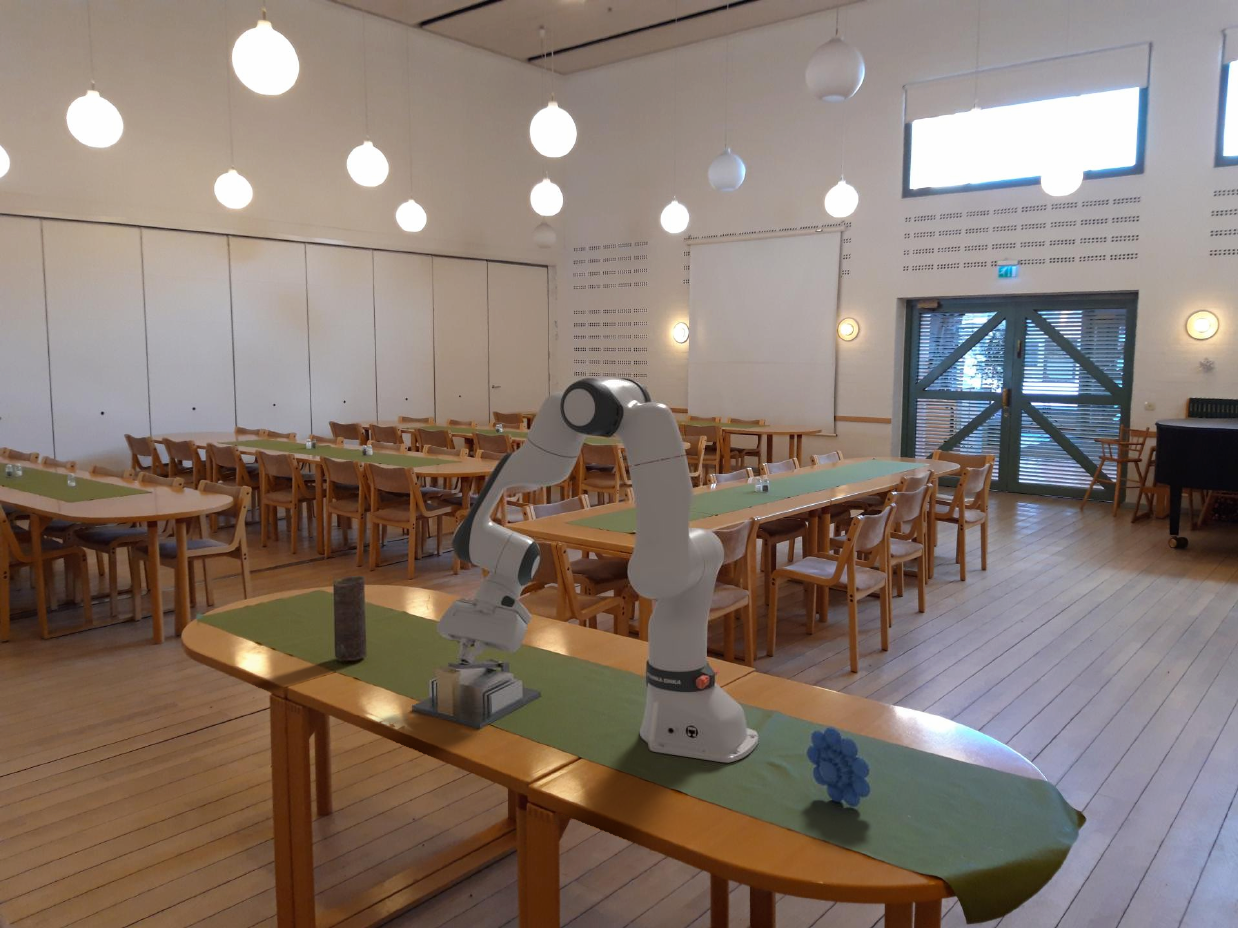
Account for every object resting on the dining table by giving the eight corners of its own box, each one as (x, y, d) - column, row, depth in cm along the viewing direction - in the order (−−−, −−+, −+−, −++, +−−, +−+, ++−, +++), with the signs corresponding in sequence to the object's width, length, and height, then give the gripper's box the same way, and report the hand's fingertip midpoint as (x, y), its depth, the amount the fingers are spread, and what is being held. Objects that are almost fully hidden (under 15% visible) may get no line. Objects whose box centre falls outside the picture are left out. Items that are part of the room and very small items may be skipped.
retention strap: (492, 665, 190) (493, 659, 190) (504, 667, 188) (504, 662, 189) (447, 667, 178) (448, 661, 178) (459, 670, 176) (460, 664, 176)
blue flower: (791, 797, 144) (792, 726, 142) (815, 783, 148) (817, 715, 147) (853, 824, 135) (855, 749, 134) (877, 809, 140) (879, 736, 138)
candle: (368, 662, 209) (365, 580, 207) (336, 666, 206) (333, 583, 204) (365, 653, 216) (362, 573, 214) (334, 656, 214) (330, 576, 211)
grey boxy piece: (540, 695, 188) (540, 651, 187) (480, 728, 171) (479, 680, 170) (475, 680, 197) (475, 638, 196) (412, 710, 180) (410, 664, 179)
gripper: (449, 589, 190) (418, 644, 183) (525, 602, 180) (495, 662, 173) (463, 604, 195) (433, 659, 187) (538, 619, 184) (509, 677, 177)
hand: (463, 661), depth 180 cm, fingers closed, pressing on retention strap
